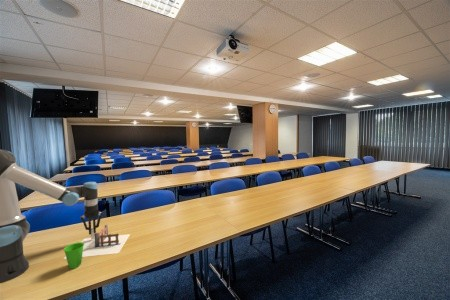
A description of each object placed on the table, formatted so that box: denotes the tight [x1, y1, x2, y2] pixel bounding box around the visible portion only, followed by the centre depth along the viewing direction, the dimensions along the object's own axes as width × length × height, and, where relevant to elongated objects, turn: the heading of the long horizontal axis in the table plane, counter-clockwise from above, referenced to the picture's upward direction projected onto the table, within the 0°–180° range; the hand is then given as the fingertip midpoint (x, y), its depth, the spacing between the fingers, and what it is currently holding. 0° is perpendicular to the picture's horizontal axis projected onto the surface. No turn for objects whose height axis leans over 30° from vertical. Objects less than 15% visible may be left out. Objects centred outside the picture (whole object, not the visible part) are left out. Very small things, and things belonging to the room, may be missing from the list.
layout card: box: [62, 233, 131, 260], centre depth 127 cm, size 25×30×1 cm
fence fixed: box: [94, 232, 120, 247], centre depth 127 cm, size 2×14×8 cm, turn 100°
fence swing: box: [98, 224, 109, 244], centre depth 133 cm, size 2×12×8 cm, turn 8°
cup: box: [63, 241, 84, 270], centre depth 106 cm, size 9×9×11 cm
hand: (92, 238), depth 133 cm, fingers closed
